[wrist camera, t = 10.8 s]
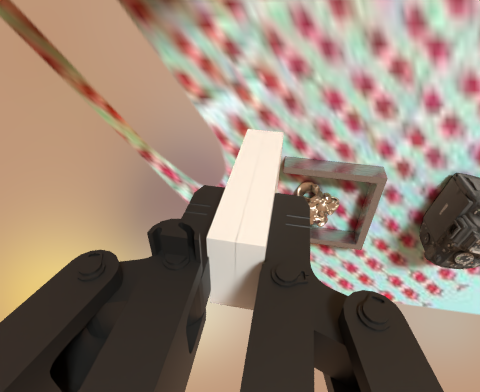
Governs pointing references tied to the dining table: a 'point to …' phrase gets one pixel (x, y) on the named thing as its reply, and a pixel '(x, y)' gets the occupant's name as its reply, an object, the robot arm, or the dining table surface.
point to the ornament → (318, 203)
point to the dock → (345, 172)
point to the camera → (454, 225)
